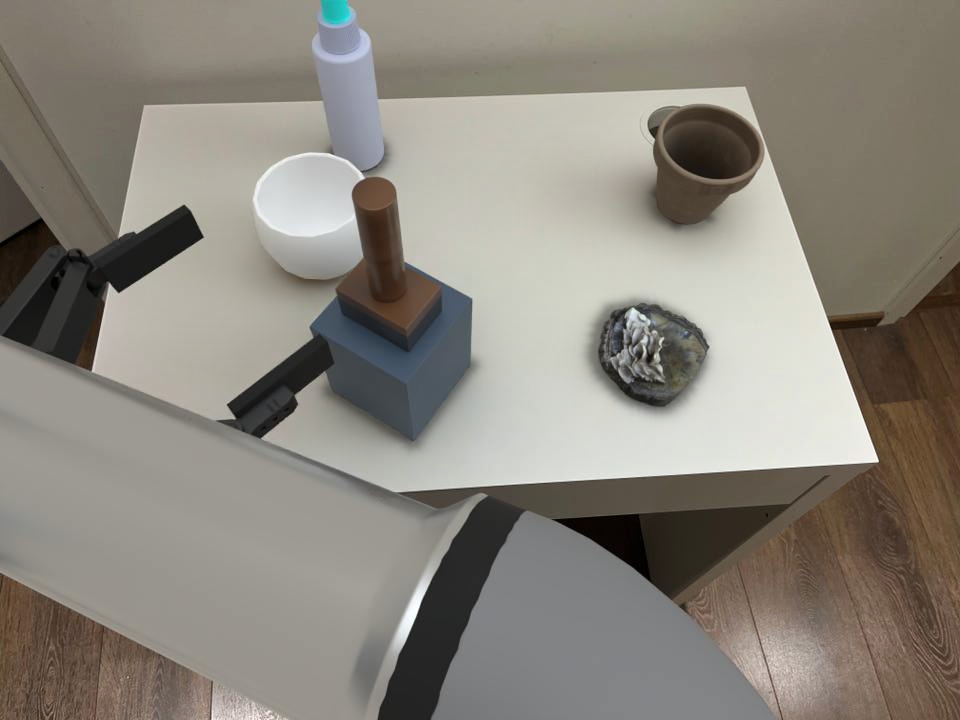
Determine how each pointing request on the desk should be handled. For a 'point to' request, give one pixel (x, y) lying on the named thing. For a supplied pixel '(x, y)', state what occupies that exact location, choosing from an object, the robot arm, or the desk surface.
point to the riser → (399, 362)
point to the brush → (386, 272)
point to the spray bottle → (348, 85)
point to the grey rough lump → (651, 352)
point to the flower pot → (703, 160)
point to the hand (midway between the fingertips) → (258, 281)
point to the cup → (309, 215)
